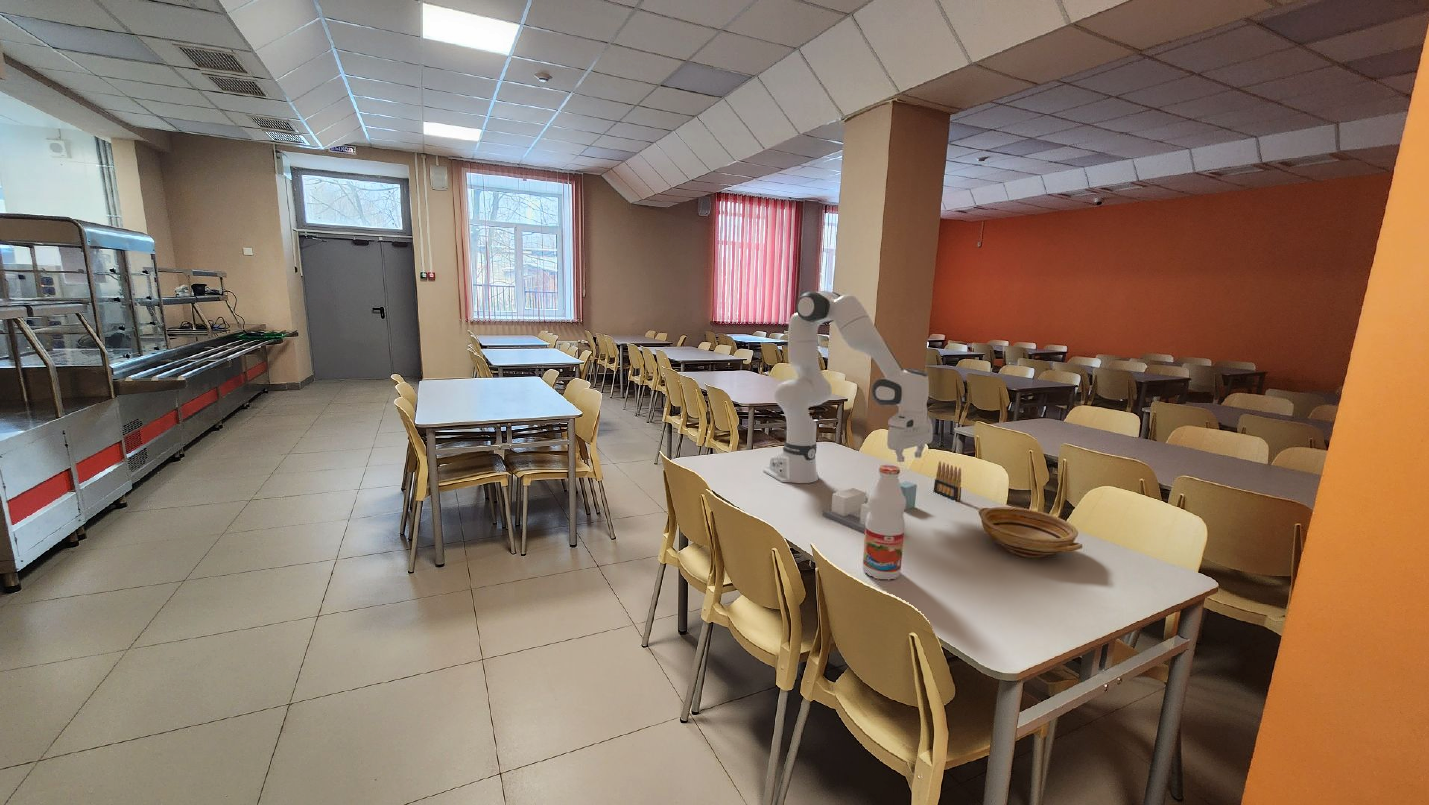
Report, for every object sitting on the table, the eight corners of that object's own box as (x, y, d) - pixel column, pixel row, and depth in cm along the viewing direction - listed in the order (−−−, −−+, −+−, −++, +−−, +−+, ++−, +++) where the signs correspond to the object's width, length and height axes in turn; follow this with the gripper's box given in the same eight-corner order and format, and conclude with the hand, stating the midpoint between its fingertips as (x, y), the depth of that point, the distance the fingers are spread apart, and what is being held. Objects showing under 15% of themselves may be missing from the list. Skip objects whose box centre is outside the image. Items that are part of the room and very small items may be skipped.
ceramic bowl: (951, 535, 168) (954, 510, 166) (1006, 523, 178) (1009, 499, 177) (1046, 580, 142) (1050, 551, 140) (1104, 562, 152) (1108, 535, 151)
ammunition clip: (960, 501, 197) (964, 468, 195) (956, 501, 196) (960, 468, 194) (936, 491, 207) (939, 460, 204) (933, 492, 206) (936, 460, 204)
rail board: (822, 515, 181) (824, 493, 180) (851, 506, 189) (853, 485, 188) (873, 537, 165) (875, 513, 164) (902, 526, 173) (904, 503, 172)
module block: (893, 507, 190) (895, 484, 188) (904, 503, 193) (906, 481, 192) (904, 510, 187) (905, 487, 185) (914, 507, 190) (916, 484, 189)
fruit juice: (897, 565, 148) (905, 463, 143) (903, 583, 139) (913, 474, 134) (860, 562, 149) (867, 460, 144) (864, 579, 140) (872, 471, 135)
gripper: (922, 413, 193) (919, 452, 195) (885, 420, 181) (882, 462, 183) (939, 416, 188) (935, 456, 190) (901, 423, 176) (898, 466, 178)
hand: (909, 459), depth 187 cm, fingers open, 8 cm apart
